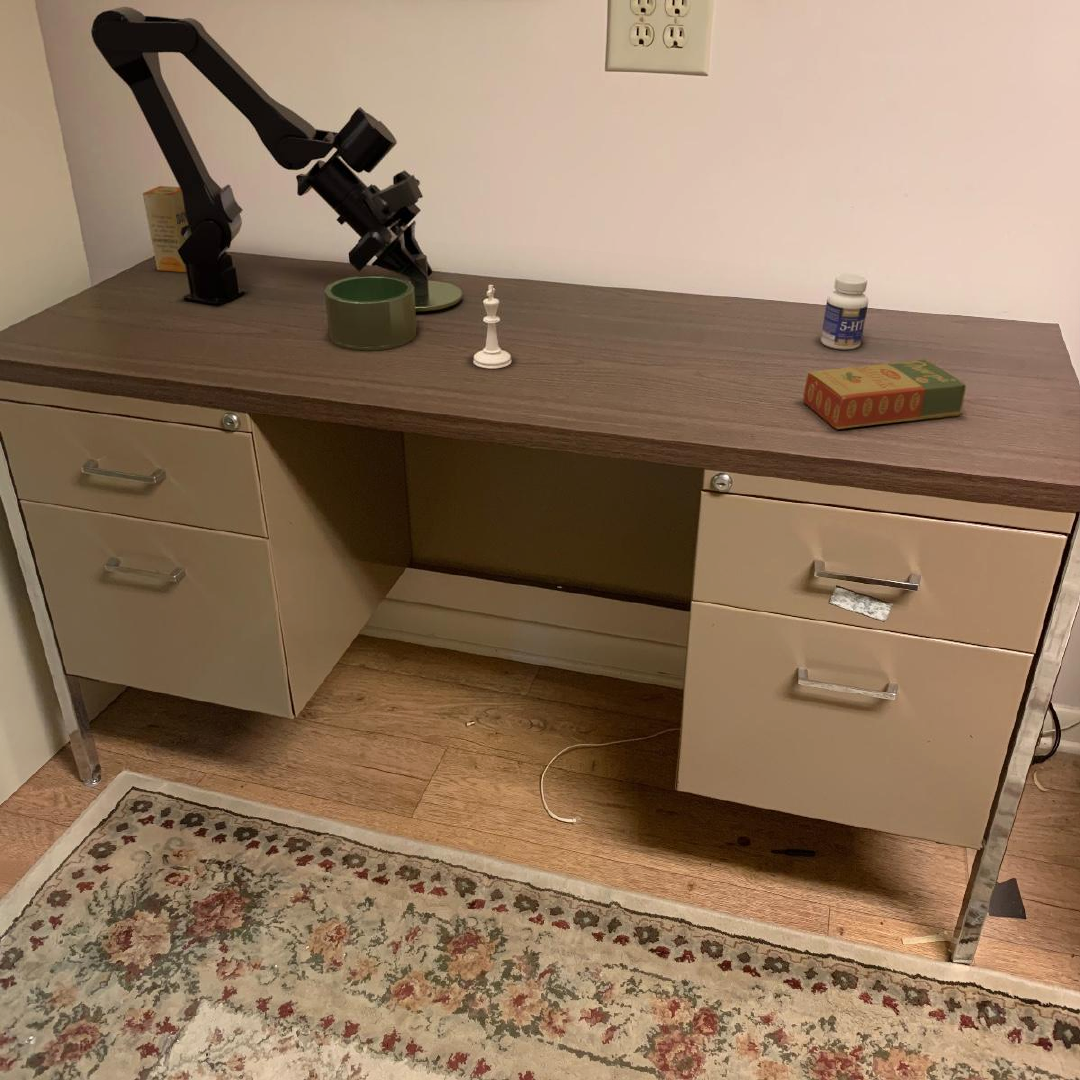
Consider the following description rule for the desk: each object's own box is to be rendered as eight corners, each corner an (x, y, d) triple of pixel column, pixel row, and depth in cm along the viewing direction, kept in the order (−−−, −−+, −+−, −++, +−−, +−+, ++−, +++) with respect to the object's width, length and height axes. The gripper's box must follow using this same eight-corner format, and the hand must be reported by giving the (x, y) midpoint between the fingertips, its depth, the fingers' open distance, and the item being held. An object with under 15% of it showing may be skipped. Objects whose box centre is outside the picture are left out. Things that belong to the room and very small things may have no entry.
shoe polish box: (201, 263, 168) (188, 187, 162) (185, 272, 164) (171, 195, 158) (173, 261, 169) (159, 186, 163) (157, 270, 165) (142, 193, 159)
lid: (371, 314, 147) (367, 268, 144) (385, 287, 158) (382, 243, 154) (457, 316, 147) (456, 269, 143) (465, 288, 158) (464, 244, 154)
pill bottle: (838, 353, 135) (849, 287, 131) (812, 340, 139) (822, 275, 135) (869, 346, 137) (881, 281, 133) (842, 334, 141) (853, 270, 137)
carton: (801, 403, 122) (806, 369, 120) (920, 389, 125) (927, 356, 123) (836, 432, 115) (842, 396, 113) (961, 416, 119) (969, 381, 116)
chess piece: (516, 357, 134) (516, 281, 128) (503, 370, 130) (502, 293, 124) (481, 352, 135) (479, 277, 130) (467, 365, 131) (464, 289, 126)
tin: (313, 342, 138) (307, 295, 134) (359, 316, 147) (355, 271, 143) (388, 356, 134) (384, 307, 130) (431, 327, 143) (428, 281, 139)
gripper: (363, 170, 134) (449, 259, 139) (403, 143, 150) (478, 223, 154) (312, 228, 140) (396, 312, 144) (356, 196, 155) (430, 272, 160)
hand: (428, 277), depth 150 cm, fingers closed on lid, 2 cm apart
